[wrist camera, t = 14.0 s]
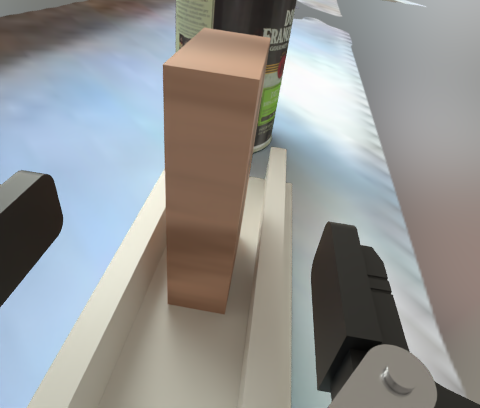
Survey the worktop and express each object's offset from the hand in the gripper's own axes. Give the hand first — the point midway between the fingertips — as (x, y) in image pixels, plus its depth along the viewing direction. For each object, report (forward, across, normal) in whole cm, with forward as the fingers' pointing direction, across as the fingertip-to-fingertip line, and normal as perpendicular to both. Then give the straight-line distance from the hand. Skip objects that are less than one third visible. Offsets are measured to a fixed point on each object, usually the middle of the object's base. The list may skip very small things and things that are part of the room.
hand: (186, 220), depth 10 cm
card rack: (+5, 0, +10) cm, 11 cm away
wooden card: (+6, 0, +8) cm, 10 cm away
